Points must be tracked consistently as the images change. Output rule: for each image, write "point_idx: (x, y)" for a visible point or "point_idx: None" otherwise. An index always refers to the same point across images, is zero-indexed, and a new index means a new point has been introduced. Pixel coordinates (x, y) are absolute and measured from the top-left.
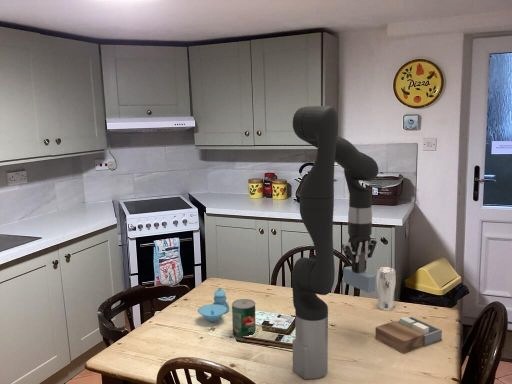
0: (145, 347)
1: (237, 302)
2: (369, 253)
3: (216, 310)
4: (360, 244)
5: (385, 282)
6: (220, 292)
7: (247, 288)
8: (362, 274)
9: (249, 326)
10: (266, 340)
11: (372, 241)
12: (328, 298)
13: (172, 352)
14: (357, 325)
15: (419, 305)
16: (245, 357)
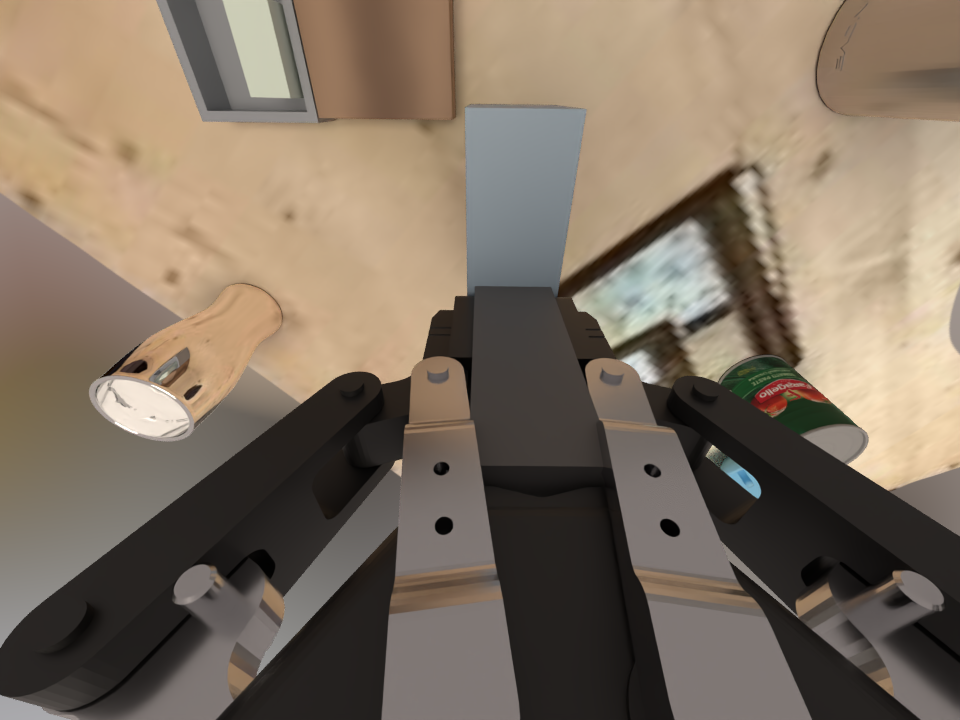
0: (951, 432)
1: None
2: (355, 425)
3: None
4: (747, 686)
5: (200, 354)
6: None
7: None
8: (545, 245)
9: (793, 379)
10: (748, 323)
11: (137, 675)
12: None
13: (952, 388)
14: (438, 252)
15: (101, 254)
16: (894, 271)
